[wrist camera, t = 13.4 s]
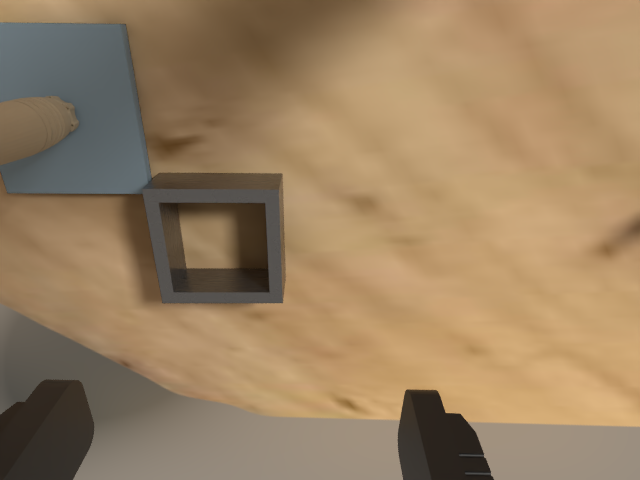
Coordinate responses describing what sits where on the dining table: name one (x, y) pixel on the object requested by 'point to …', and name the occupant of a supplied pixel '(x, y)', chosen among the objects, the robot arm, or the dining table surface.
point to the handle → (33, 125)
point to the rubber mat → (77, 107)
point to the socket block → (214, 282)
